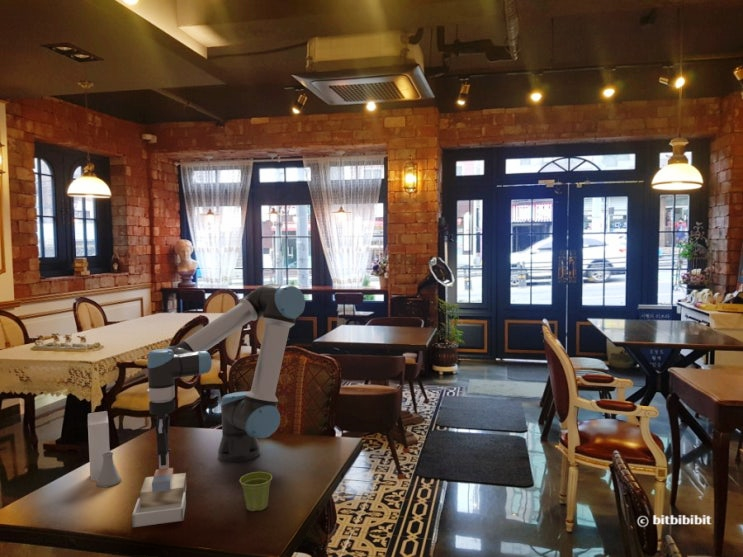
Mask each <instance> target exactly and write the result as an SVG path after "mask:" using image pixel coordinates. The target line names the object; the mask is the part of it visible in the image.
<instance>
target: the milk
mask: <svg viewBox="0 0 743 557" xmlns="http://www.w3.org/2000/svg"><path fill="white" fill-rule="evenodd" d="M87 430H88V431H87V432H88V435H87V436H88V455H89V475H90V476H89V477H90V481H91V482H94V481H98V478H99V475H100V472H101V469H102V466H103V456H102V454H103V453H105V452H111V451H110V428H109V416H108V411H107V410H104V411H97V412H91V413H90V412H89V413H88V414H87Z"/></svg>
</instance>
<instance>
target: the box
mask: <svg viewBox="0 0 743 557" xmlns="http://www.w3.org/2000/svg"><path fill="white" fill-rule="evenodd" d="M186 492H187V491H186ZM186 492H185V493H183V498H182V503H176V504H168V505H160V506H152V507H145V508H141V499H140V497H138V498H137V499H136V503H135V506H134V509H133V512H132V514H131V518H132V519H131V520H132V528H137V527H145V526H153V525H158V524H167V523H177V522H184V520H185V514H186V513H185V512H186V505H187V499H186V498H187V495H186V494H187V493H186Z"/></svg>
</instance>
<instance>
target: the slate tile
mask: <svg viewBox="0 0 743 557" xmlns="http://www.w3.org/2000/svg"><path fill="white" fill-rule="evenodd" d="M153 477H154V478H153V481H152V493H153V492H162V491H170V490H171V486H172V474H167V475H158V476H154V475H153Z"/></svg>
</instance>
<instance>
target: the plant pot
mask: <svg viewBox="0 0 743 557" xmlns="http://www.w3.org/2000/svg"><path fill="white" fill-rule="evenodd" d="M238 480H239V481H238V482H239V483H240V485H241V488H242V490H243V496H244V497H243V498H244V501H245V508H246V509H247V510H248V511H250V512H255V511H263V510H265V509H267V507H268V505H269V495H270V486H271V481H272V480H273V475H272V474H271V473H269V472H266V471H253V472H249V473H245V474H244V475H243V476H240V479H238Z"/></svg>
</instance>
